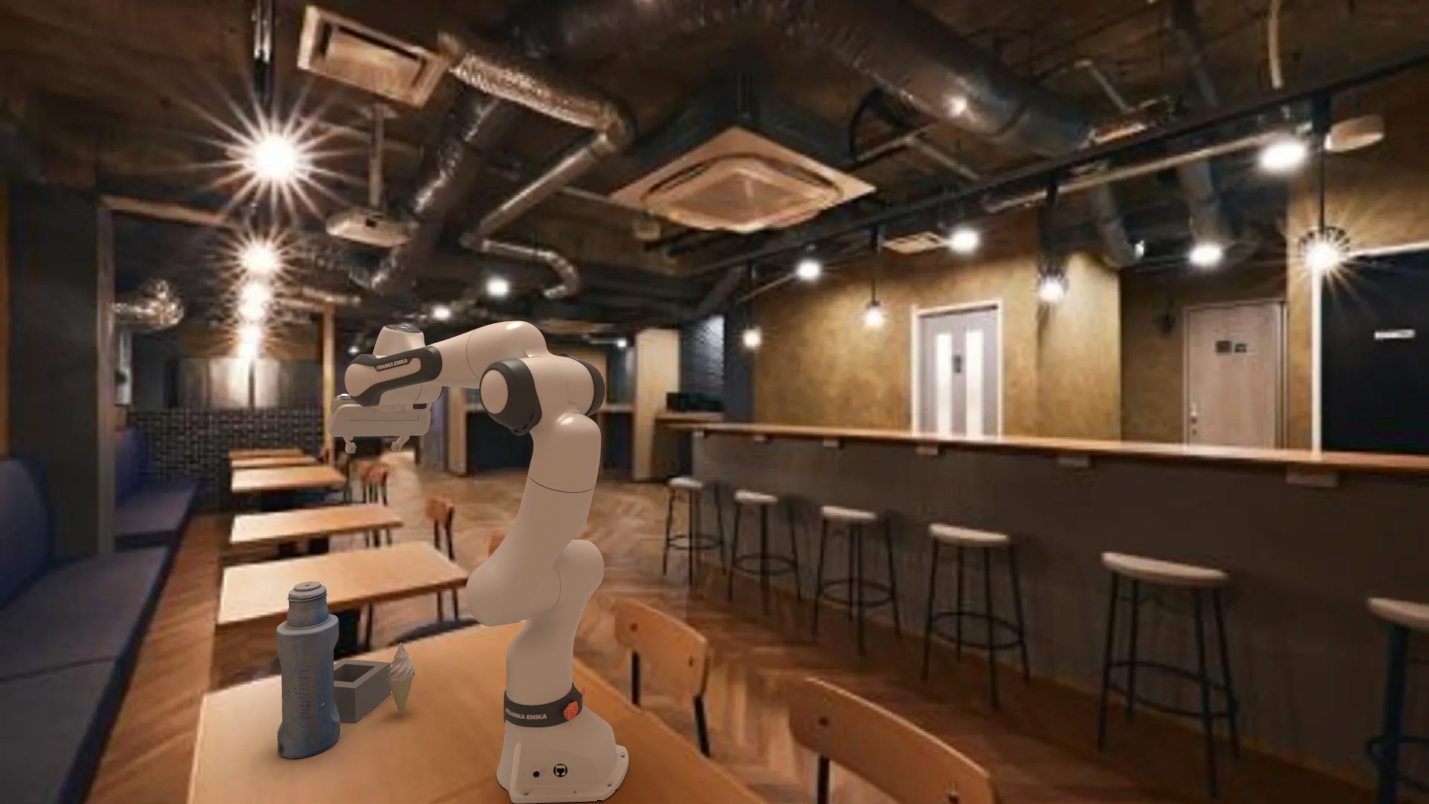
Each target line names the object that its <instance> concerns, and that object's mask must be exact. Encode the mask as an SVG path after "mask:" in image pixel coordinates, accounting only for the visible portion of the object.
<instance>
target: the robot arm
mask: <svg viewBox="0 0 1429 804" xmlns="http://www.w3.org/2000/svg"><path fill="white" fill-rule="evenodd" d="M425 343H426V342H425V336H424V332H423V331H422V330H420V329H419V328H417V327H414V326H411V325H407V324H406V325H405V324H396V323H395V324H388V325H385V326H383V327H382V328H381V330H380V332H379V334H378V336H377V340H376V342H375V345H374V349H373V352H372V354H368V353H366V354H365V353H361V354H359V355H358V356H356V357H355V358H354V359H352V360H351V362H350V363H349V364H348V365H347V366H346V368H345V369H344V370H345V371H344V374H343V385H344V387H343V388H344V389H345V392H346V393H341V394H340V395H337V396H335V397H333V398H332V399H331V402H330V406H329V413H328V415H327V419H326V421H325V429H326V431H327V433H328V434H329V435H330V436H331V437H335V438H336V437H337V438H340V437H341V438H343V440H344V442H345V448H344V450H345V452H346V454H355V453H356V450H357V445H356V444H355V442H351V441H353V440H354V437H399V438H397V440H396V441H392V443H391V445H390V446H391V447H390V449H391V450H392V452H401V450H402V447H403V446H404V445H405V444H406V443H407V442H408V441H409V440H410V437H411V436H424V435H425V434H427V433H428V431H429V428H430V424H431V417H432V414H431V413H432V412H431V410H430V409H431V408H432V405H433V403H435V402H437V401H438V400H440V398H441V397H442V396H443V395H444V392H445V390H446V387H449V388H451V387H452V388H460V389H461V388H462V389H463V388H464V389H472V390H473V389H476V390H478V395H479V400H480V404H481V406H482V408H483V409H484V410H485V412H486V413H487V414H488V416H489V417H490V418H491V419H492V420H494V421H495V422H496V423H498V424H499V425H502V426H504V427H507V428H508V429H509V430H510V433H512V434H513V435H516V436H517V437H518V436H519V437H520V436H524V435H527V434H530V435H531V439H532V441H533V449H532V450H533V451H532V456H531V460H530V462H529V463H530V464H529V469H528V472H527V473H528V474H527V477H526V482H525V486H524V490H523V495H522V498H521V502H520V505H519V509H518V512H517V514H516V517H515V518H514V521H513V523H512V525H511V526H510V529H509V530H508V532H507V533H506V535H505V537H504V538H503V539H502V541H501V543H499V545H498V547H497V548H496V549H495V550H494V551H493V552H492V554H491V555H490V556H489V557H487V559H486V560H485V561H483V562H482V563H481V564H480V565H479V566H477V567H476V568H474V569H473V571H472V572H471V573H470V575H469V577H468V580H467V582H466V587H465V591H464V592H465V593H464V594H465V595H464V597H465V603H466V605H467V608H468V611H469V613H470V615H471V616H472V617H473V618H474V619H475V620H476V621H477V622H478V623H480V624H481V625H483V626H485V627H496V626H505V625H510V624H516V623H519V622H523V621H525V622H524V624H523V625H522V627H521V628H520V629H519V630H518V632H516V633H515V635H514V636H513V637H512V639H511V640H510V642H509V644H508V646H507V648H506V654H505V660H506V661H505V665H506V666H505V673H506V674H505V675H506V676H505V677H506V681H505V682H506V683H505V684H506V685H505V690H504V693H503V704H502V705H503V707H502V709H503V710H502V711H503V722H504V724H505V725H504V736H503V744H502V748H501V749H502V750H501V755H500V759H499V763H498V766H497V770H496V779H497V781H498V783H499V784H500V786H502V788H504V789H505V790H506V791H507V792H508V795H509V799H510V801H511V803H513V804H542V803H543V804H544V803H546V804H549V803H576V802H577V803H578V802H582V803H583V802H598V801H597V800H602V801H605V800H606V799H608V798H609V797H611V796H612V795H613V794H614V793H615V792H616V791H617V790H618V789H619V788H620V786H621V785H622V783H623V781H624V780H625V777H626V775H627V772H628V771H629V770H628V769H629V763H630V760H629V752H628V750H627V748H626V747H625V746H623V745H619V744H617V743H616V737H615V733H614V730H613V727H612V725H611V724H610V723H608V722H607V721H606V720H604V719H603V718H601V717H600V716H599V715H597V714H596V713H594V712H593V711H592V710H590V708H588V707H587V706H586V705H584V704H583V703H584V702H583V699H584V697H585V695H586V687H585V686H583V687H582V689H581V690H579V689H577V687H576V686H575V684H574V682H573V658H574V657H573V656H574V646H575V645H574V644H575V638H576V634H577V630H578V627H579V623H580V622H581V621H580V620H581V618H582V616H583V614H584V611H585V608H586V606H587V604H588V602H589V600H590V599H591V597H592V595H593V594H594V593H595V591H596V590H597V589H599V586H600V585H601V583H602V582H603V579H604V576H605V562H604V561H605V560H604V558H603V555H602V552H601V551H600V550H599V548H598V547H597V545H595V544H594V542H592V541H590V540H587V539H576V538H577V537H578V536H579V535H580V534H581V532H582V531H583V529H584V528H585V526H586V525H587V521H588V517H589V513H590V509H591V505H592V500H593V496H594V493H595V487H596V484H597V478H598V474H599V470H600V469H599V467H600V463H601V462H600V460H601V451H602V449H601V448H602V447H601V446H602V434H601V430H600V428H599V426H598V424H597V423H596V421H595V420H593V419H592V418H590V416H592V415H594V414H596V413H597V412H598V411H599V410H600V409H601V407H602V405H603V403H604V401H605V396H606V385H605V381H604V377H603V375H602V374H601V372H600V371H599V369H598V368H597V367H596V366H595V365H593V364H591V363H589V362H587V361H585V360H582V359H579V358H576V357H574V356H572V355H570V354H569V353H566V352H562V353H560V354H558V355H555V354H553V353H551V352H550V351H549V350H548V348H547V343H546V340H545V337H544V335H543V334H542V332H541V331H540V330H539V329H538V328H537V327H536V326H534V325H533V324H532V323H530V322H528V321H523V320H511V321H510V320H509V321H502V322H501V321H500V322H496V323H492V324H488V325H484V326H481V327H478V328H475V329H471V330H470V331H467V332H464V333H462V334H459V335H456V336H454V337H450V338H447V339H444V340H441V341H438V342H434V343H431V344H429V345H426V344H425ZM616 789H617V790H616ZM615 790H616V791H615Z"/></svg>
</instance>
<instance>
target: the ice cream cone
mask: <svg viewBox="0 0 1429 804" xmlns="http://www.w3.org/2000/svg"><path fill="white" fill-rule="evenodd" d="M393 658H394V659H393V661H392V662H391V663H390V665H391V667H389V668H388V670H389V671H391V672H390V673H389V674H388V677H387V680H388V682H389V685H390V688H391V695H392V696H393V699H394V701H395V705H396V707H397V711H398V713H399V716H401V717H402V716H403V715H404V712H405V708H406V705H407V701H408V698H409V694H410V690H411V687H412V684H413V680H414V676H415V675H416V673H415V671H416V669H415V667H416V664H415V662H414V661H413V659H411V658H410V657H409V652H407V650H406V649H405V647H404V644H403V643H402V641H400V643H399V646H398V648H397V650H396V652H395V654H394V655H393Z"/></svg>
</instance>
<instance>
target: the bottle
mask: <svg viewBox="0 0 1429 804" xmlns="http://www.w3.org/2000/svg"><path fill="white" fill-rule="evenodd" d="M327 592H328V591H327V587H326V586H325V585H322V583H321V582H320V581H313V580H312V581H305V582H300V583H297V584H294V586H293V588H292V589H291V590H289V591H288V595H287V600H288V610H287V616H286V620H285V621H283V622H282V623H280V624H278V626H277V627H276V631H275V632H276V652H277V656H278V659H279V660H278V661H279V665H280V670H281V671H280V673H281V674H280V675H281V678H280V679H281V719H282V720H281V723H280V725H279V727H278V729H277V740H276V741H277V752H278V753H279V754H280V756H282V757H284V758H287V759H300V758H307V757H312V756H314V755H318V754H320V753H322V752H325V751H326V750H328V749H329V748H331V747H332V746H333V745H335V744H336V742H337V741H338V740H339V738H340V731H341V730H340V728H341V727H340V725H341V722H340V717H339V713H338V710H337V707H336V704H335V700H334V664H335V663H334V660H335V659H334V657H335V656H334V655H335V654H334V652H335V651H334V649H335V647H336V646H337V642H338V641H339V638H340V637H339V635H340V628H339V625H340V624H339V623H340V620H339V618H338V617H337V616H336V615H334V614H331V613H329V608H328V607H329V606H328V602H327V596H328V593H327Z"/></svg>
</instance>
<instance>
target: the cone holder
mask: <svg viewBox="0 0 1429 804" xmlns="http://www.w3.org/2000/svg"><path fill="white" fill-rule="evenodd" d="M390 663H392V662H389V661H377V660H364V659H350V658H348V659H347V658H342V659H341V660H339V661H338V662H336V663H334V700H335V704H336V707H337V710H338V713H339V717H340V723H350V724H351V723H352V724H357V723H358V722H359V721H360V720H362V719H363V718H364V717H366V715H368V714H369V713H370V712H371V711H373V710H374V709H375V708H377V707H378V706H379V705H380V704H381V703H383V702H384V701H385V700H386V699H388V698H389V697H390V696H391V695H392V691H391V688H390V685H389V682H388V680H387V677H388V674H389V673H390V672H391V671H389V670H388V668H389V667H391V666H392V665H390Z"/></svg>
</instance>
